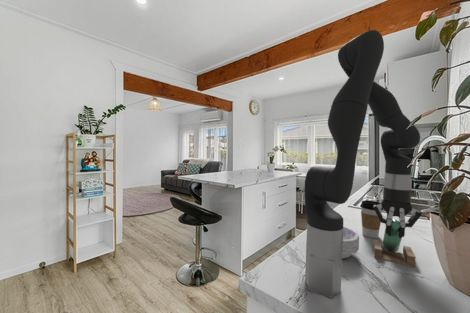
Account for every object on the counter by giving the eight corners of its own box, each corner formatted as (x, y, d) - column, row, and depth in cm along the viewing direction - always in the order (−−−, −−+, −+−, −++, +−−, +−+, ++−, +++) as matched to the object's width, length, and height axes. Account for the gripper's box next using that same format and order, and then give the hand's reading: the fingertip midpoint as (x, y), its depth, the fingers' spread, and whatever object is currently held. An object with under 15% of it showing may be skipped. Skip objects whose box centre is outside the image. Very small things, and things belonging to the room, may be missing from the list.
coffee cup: (357, 235, 93) (358, 201, 92) (361, 229, 99) (363, 198, 98) (380, 241, 87) (381, 205, 86) (383, 235, 93) (384, 201, 92)
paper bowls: (304, 246, 82) (304, 226, 81) (334, 240, 87) (334, 221, 87) (335, 267, 68) (336, 243, 67) (368, 259, 73) (369, 236, 73)
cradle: (414, 266, 68) (415, 257, 68) (374, 257, 74) (374, 248, 74) (409, 256, 75) (410, 247, 75) (373, 248, 81) (373, 239, 81)
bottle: (399, 253, 77) (405, 230, 68) (382, 249, 80) (387, 227, 71) (398, 241, 80) (404, 217, 72) (382, 238, 83) (386, 215, 74)
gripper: (373, 186, 72) (371, 236, 73) (427, 191, 65) (424, 246, 66) (372, 183, 78) (370, 228, 79) (421, 187, 71) (418, 236, 72)
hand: (394, 236), depth 72 cm, fingers closed on bottle, 2 cm apart
